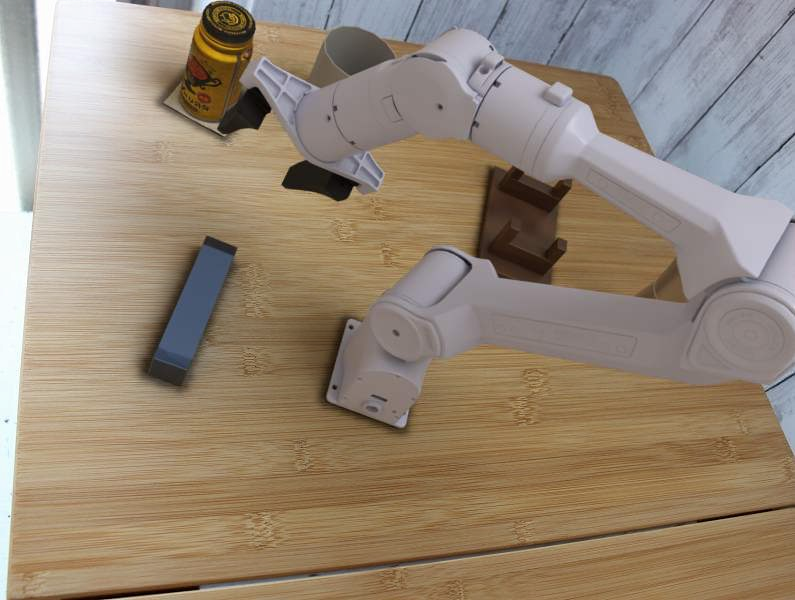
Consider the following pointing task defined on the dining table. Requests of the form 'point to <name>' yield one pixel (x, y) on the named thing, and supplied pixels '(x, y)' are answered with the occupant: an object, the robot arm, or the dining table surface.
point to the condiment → (215, 64)
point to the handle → (192, 312)
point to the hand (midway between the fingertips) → (256, 151)
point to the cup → (348, 55)
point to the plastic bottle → (666, 286)
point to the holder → (522, 226)
